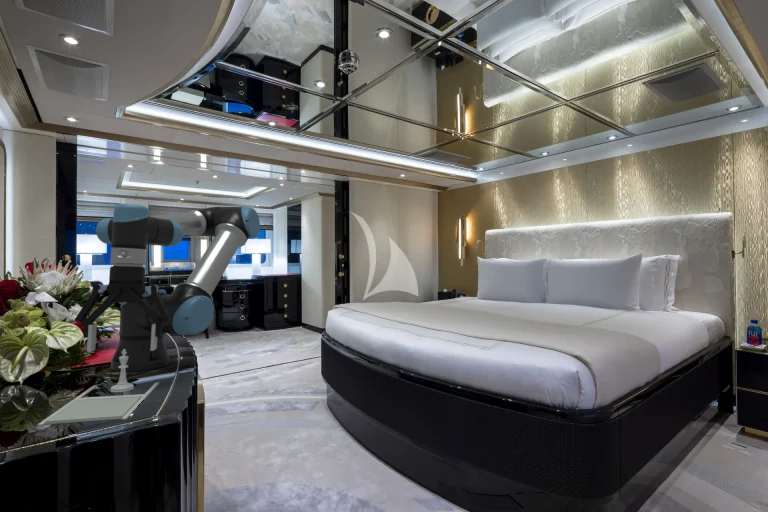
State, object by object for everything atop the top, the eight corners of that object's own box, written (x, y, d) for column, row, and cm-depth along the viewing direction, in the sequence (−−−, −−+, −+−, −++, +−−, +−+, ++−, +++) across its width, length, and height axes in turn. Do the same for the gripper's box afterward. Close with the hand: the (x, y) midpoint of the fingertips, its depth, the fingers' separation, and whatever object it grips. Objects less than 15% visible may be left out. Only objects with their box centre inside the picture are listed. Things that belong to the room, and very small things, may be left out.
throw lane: (93, 386, 98) (93, 384, 98) (159, 383, 103) (159, 381, 103) (37, 425, 74) (38, 422, 74) (126, 419, 79) (126, 416, 79)
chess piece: (115, 393, 94) (118, 352, 94) (106, 389, 96) (108, 349, 97) (137, 388, 98) (139, 348, 98) (128, 385, 100) (130, 346, 101)
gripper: (61, 263, 91) (55, 354, 90) (179, 267, 98) (174, 351, 97) (76, 263, 98) (70, 348, 97) (185, 267, 105) (181, 346, 104)
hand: (122, 350), depth 97 cm, fingers open, 13 cm apart
